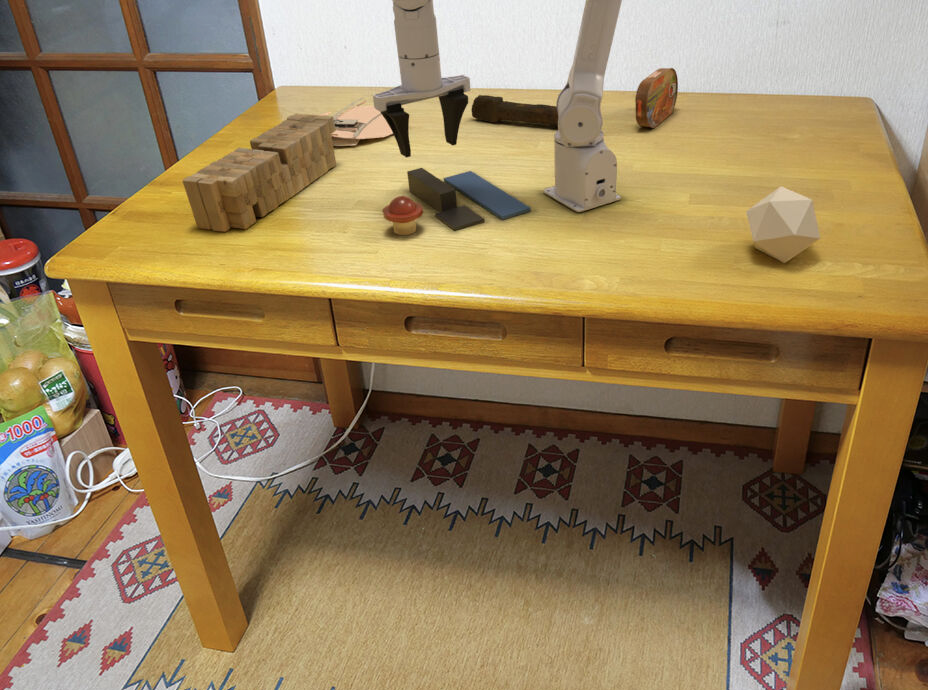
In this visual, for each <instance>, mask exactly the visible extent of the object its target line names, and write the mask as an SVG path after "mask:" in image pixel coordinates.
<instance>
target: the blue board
mask: <svg viewBox="0 0 928 690" xmlns="http://www.w3.org/2000/svg"><path fill="white" fill-rule="evenodd" d="M443 182H444V183H446V184H447V185H449V186H450V187H452V188H453V189H455V190H456V191H457V192H459V193H461V194H462V195H464V196H465V197H467V198H468V199H469V200H471V201H472V202H474V203H476V204H477V205H479V206H480V207H482V208H483V209H484V210H487V211H488V212H490V213H491V214H493V215H494V216H496V218H499V219H500V220H502V221H503V220H506V219H507V220H508V219H510V218H513V217H517V216H520V215H523V214H527V213H531V211H532V208H531V207H530V206H529V205H527V204H525V203H524V202H522V201H520V200H518V199H517V198H515V197H514V196H513V195H511V194H509V193H507V192H506V191H505V190H502V189H501V188H500V187H498V186H496V185H495V184H493V183H491V182H490V181H488V180H487V179H484V178H483V177H481V176H480V175H478V174H476V173H475V172H473V171H472V170H468V171H464V172H461V173H457V174H453V175H450V176H446V177H443Z"/></svg>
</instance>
